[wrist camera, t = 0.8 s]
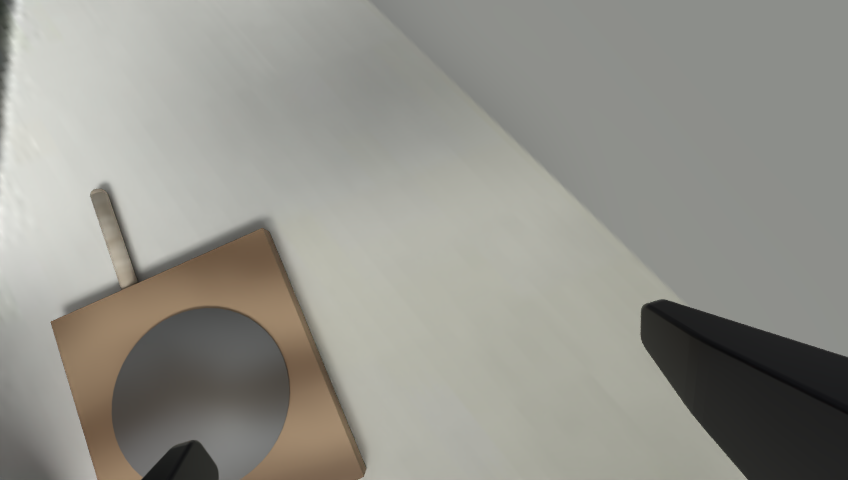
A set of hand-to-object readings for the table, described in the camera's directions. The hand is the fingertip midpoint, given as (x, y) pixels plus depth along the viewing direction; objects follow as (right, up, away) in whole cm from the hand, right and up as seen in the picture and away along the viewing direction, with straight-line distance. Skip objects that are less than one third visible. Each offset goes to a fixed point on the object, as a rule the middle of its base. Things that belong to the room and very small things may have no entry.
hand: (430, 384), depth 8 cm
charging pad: (-13, -3, +14) cm, 19 cm away
